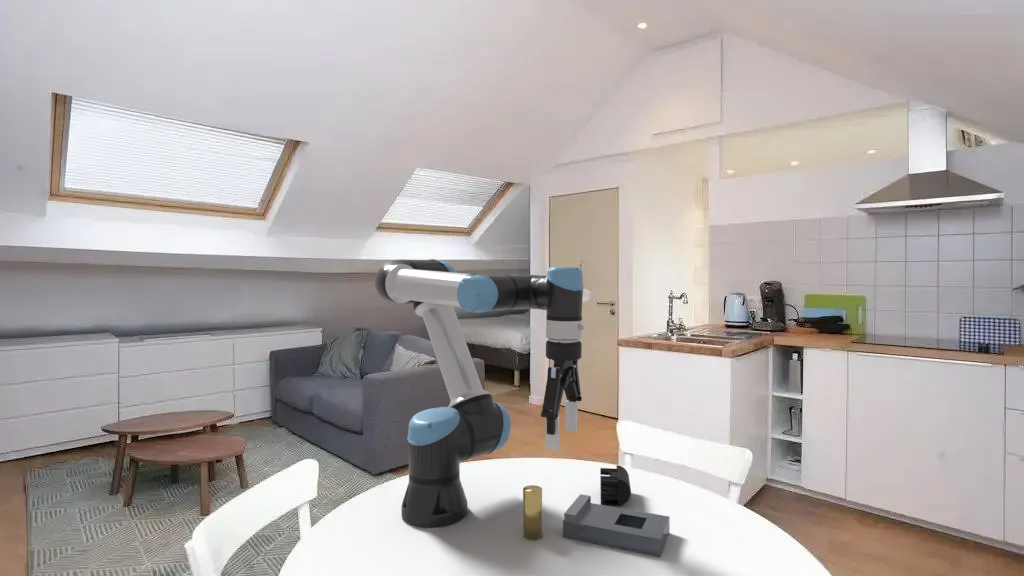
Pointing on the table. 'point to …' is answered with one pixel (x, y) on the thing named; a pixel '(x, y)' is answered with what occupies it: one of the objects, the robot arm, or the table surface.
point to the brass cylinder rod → (532, 512)
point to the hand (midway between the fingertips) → (561, 439)
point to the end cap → (614, 486)
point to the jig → (616, 527)
